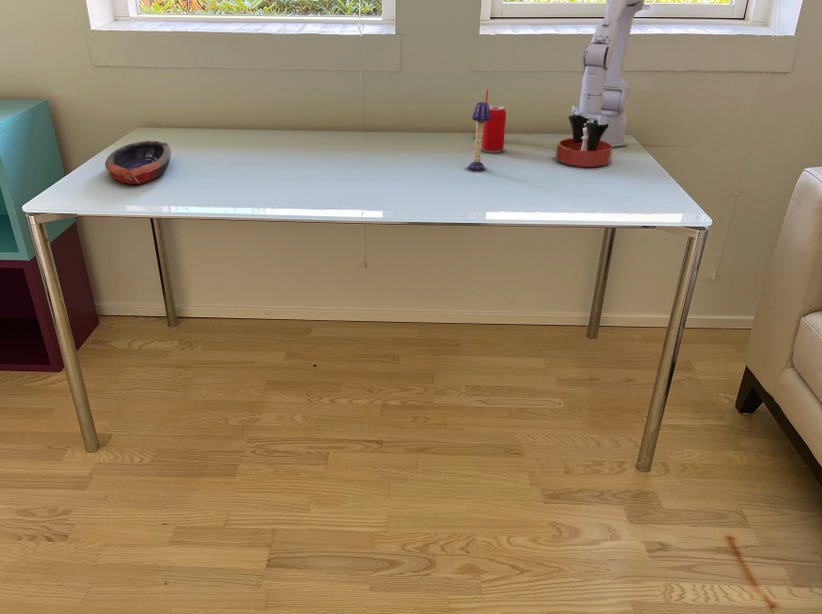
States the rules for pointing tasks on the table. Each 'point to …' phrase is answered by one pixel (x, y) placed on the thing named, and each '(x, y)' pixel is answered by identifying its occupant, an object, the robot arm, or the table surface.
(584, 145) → the chess piece
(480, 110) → the toy lamp
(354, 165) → the table surface
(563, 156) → the bowl
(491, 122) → the beverage can
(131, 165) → the dish
